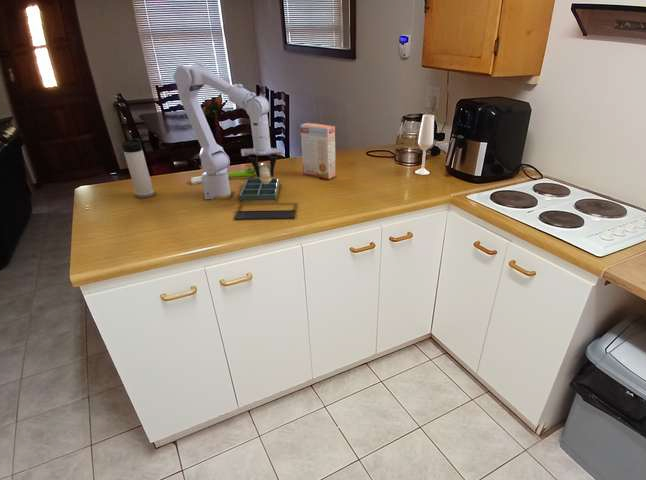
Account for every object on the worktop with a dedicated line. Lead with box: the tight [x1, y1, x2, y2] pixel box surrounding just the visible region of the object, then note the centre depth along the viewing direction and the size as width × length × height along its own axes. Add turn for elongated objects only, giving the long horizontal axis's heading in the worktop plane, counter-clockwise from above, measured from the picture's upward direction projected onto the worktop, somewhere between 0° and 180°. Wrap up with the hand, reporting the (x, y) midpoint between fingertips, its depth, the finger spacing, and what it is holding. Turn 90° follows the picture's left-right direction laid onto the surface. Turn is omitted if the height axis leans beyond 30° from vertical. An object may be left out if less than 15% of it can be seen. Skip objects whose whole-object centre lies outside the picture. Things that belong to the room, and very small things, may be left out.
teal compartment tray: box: [239, 177, 281, 202], centre depth 159 cm, size 13×20×3 cm
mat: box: [234, 209, 296, 221], centre depth 144 cm, size 20×14×1 cm
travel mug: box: [121, 138, 155, 199], centre depth 151 cm, size 6×7×20 cm
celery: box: [191, 167, 260, 186], centre depth 170 cm, size 6×7×30 cm
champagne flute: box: [414, 114, 435, 176], centre depth 178 cm, size 7×7×24 cm
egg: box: [258, 162, 273, 184], centre depth 145 cm, size 4×4×7 cm
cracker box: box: [300, 122, 336, 180], centre depth 173 cm, size 14×6×21 cm, turn 58°
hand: (265, 175), depth 146 cm, fingers closed on egg, 4 cm apart
